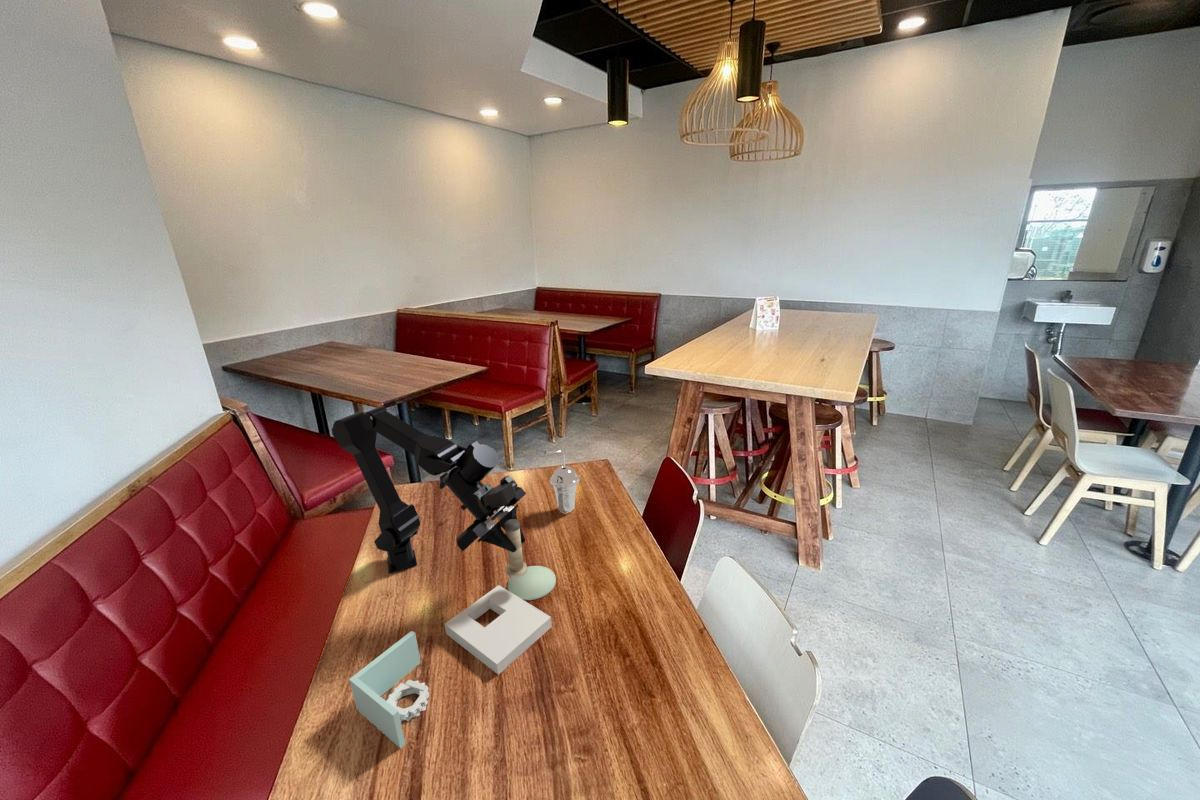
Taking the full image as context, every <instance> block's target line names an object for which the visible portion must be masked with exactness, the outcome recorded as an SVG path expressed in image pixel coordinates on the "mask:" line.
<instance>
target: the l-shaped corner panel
mask: <svg viewBox="0 0 1200 800" xmlns="http://www.w3.org/2000/svg"><path fill="white" fill-rule="evenodd" d="M421 662H422V661H421V657H420V651H419V645H418V641H417V637H416V632H415V631H412V630H411V631H409V632H408V633H407V634H406V635H404V636H403V637H402V638H400V639H399V640H398V641H396V642H395V643H394V644H392V645H391V646H390V647H389V648H387V649H386V650H385V651H383V652H382V653H381V654H380V655H379V656H377V657H375V658H374V659H373V660H372V661H371V662H369V663H368V664H367V665H365V667H363V668H362V669H360V670H359V671H358V672H356V673H355V674H354V675H353V676H351V677H349V679H348V681H349V683H350V688H351V692H352V696H353V700H354V704H355V707H356V711H357V710H358V711H359V712H360V713H361V714H360V713H359V712H358V711H357V712H358V713H359V714H360V715H362V714H363V715H364V716H365V717H366V718H367V719H368V720H369V721H368V720H367V719H366V718H365V717H364V716H363V715H362V716H363V717H364V718H365V719H366V720H367V721H368V722H370V721H371V722H370V723H371V724H372V723H373V724H374V725H375V726H376V727H377V730H378V731H380V732H381V731H382V732H381V733H382V734H383V735H384V734H385V735H384V736H386V738H388V739H389V740H390V741H391V742H392V743H394V745H396V746H397V747H398V748H399V749H402V748H403V747H404V746H405V745H406V744H407V743H406V739H405V736H404V735H405V734H404V732H403V731H404V730H403V726H402V722H403V721H407V722H409V721H411V720H412V719H413V718H416V717H419V716H420V714H421V712H424V711H426V709H427V705H428V704H429V701H428V699H429V697H430V693H429V687H428V686H427V685H426V684H425V682H421V683H420V681H419V680H417V679H416V680H415V681H414V680H411V679H407V681H406V682H405V683H403V682H400V681H402V679H403V678H404V677H406V676H407V675H408V674H409V673H410V672H411V671H412V670H414V669H415V668H416V667H417V666H418V665H420V664H421ZM399 682H400V683H399ZM397 683H399V684H398V686H396V687H394V686H395V685H397ZM393 687H394V688H393ZM392 688H393V691H392V693H389V694H388V697H387V699H386V700H385V699H384V698H383V697H382V696H383V695H385V694H386V693H387V692H388V691H390V689H392ZM386 691H387V692H386ZM385 692H386V693H385ZM384 693H385V694H384ZM414 694H416V695H418V697H417V699H416V700H415V701H414V702H413V704H412V705H410V706H408V707H405V708H404V707H400V706H398V701H399V700H400V699H401V698H403V697H404V696H409V695H414ZM381 695H382V696H381ZM380 696H381V697H380ZM373 724H372V725H373ZM374 725H373V726H374ZM375 726H374V727H375ZM376 727H375V728H376Z"/></svg>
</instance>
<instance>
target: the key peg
mask: <svg viewBox="0 0 1200 800" xmlns="http://www.w3.org/2000/svg"><path fill="white" fill-rule="evenodd" d="M504 526H505V530H504V531H505V532H504V533H505V535H506V536H507V537H508V538H509V539H510V540H511V542H512V543H513V544H514V546H515V547H516V548H517V550H516V551H515V552H511V551H508V550H506V551H507V558H508V559H507V560H508V564H507V566H506V568H505V571H506V576H507V577H509V578H510V577H511V578H519V577H521V576H523V575H525V574H526V572H527V567H528V566H527V565H528V564H527V563H526V562H525V561H524V557H523V547H522V543H521V536H520V528H521V526H520V520H518V519H517V520H516V519H510V520H508V521H506V522H505V523H504Z"/></svg>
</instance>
